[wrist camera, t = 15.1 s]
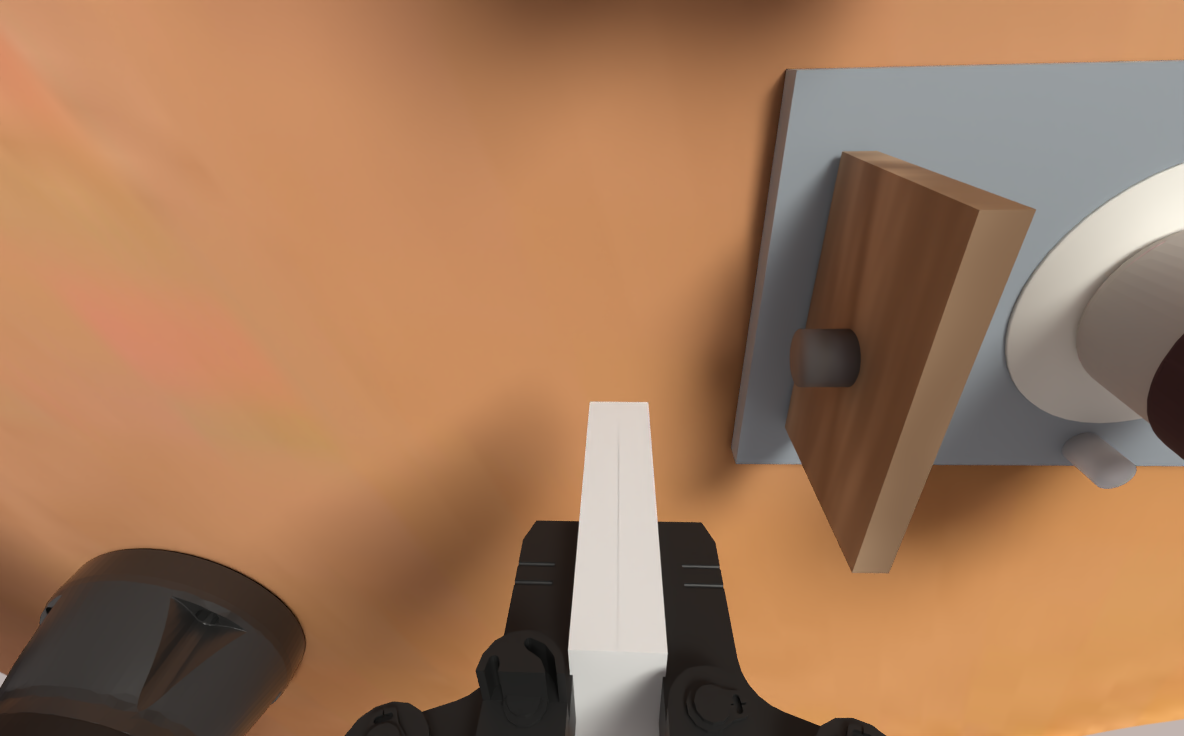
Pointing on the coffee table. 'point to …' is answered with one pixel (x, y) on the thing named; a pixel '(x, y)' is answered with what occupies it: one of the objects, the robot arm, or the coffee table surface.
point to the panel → (893, 339)
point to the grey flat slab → (1045, 261)
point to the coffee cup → (1141, 337)
